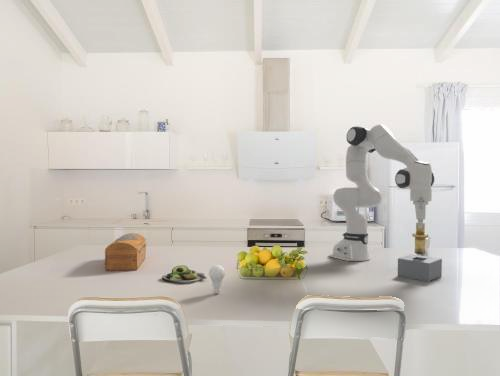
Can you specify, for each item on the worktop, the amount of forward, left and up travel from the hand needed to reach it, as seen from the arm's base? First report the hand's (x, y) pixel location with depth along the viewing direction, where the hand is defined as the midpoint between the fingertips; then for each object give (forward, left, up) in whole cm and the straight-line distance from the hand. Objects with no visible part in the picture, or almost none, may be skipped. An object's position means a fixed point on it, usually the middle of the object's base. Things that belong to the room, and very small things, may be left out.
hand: (420, 227), depth 179 cm
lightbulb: (-42, -84, -22) cm, 96 cm away
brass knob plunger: (0, 0, -12) cm, 12 cm away
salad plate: (-70, -80, -23) cm, 109 cm away
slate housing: (0, 0, -22) cm, 22 cm away
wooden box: (-113, -85, -22) cm, 144 cm away
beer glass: (-6, +18, -22) cm, 29 cm away
